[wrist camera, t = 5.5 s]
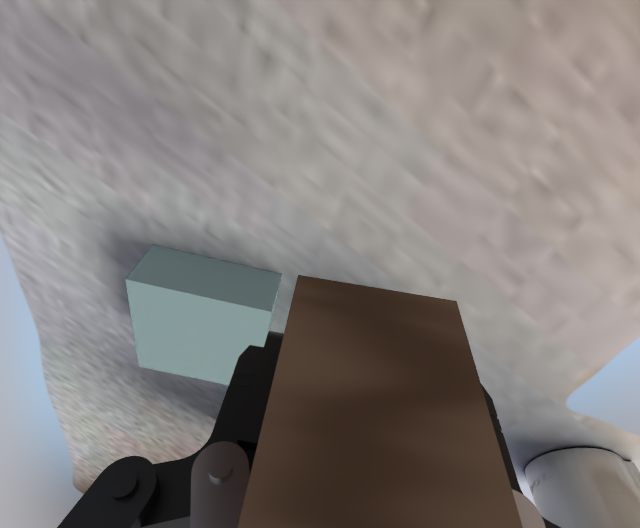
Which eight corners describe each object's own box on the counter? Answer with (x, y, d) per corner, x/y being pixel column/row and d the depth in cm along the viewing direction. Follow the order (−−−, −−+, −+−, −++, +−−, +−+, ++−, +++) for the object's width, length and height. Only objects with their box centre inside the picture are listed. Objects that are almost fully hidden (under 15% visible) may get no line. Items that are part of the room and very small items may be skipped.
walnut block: (456, 301, 11) (545, 602, 6) (411, 392, 14) (440, 647, 9) (298, 274, 11) (231, 549, 6) (286, 372, 14) (235, 613, 9)
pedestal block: (282, 271, 26) (271, 312, 22) (266, 349, 31) (255, 390, 28) (155, 241, 25) (125, 279, 22) (161, 326, 30) (138, 366, 27)
